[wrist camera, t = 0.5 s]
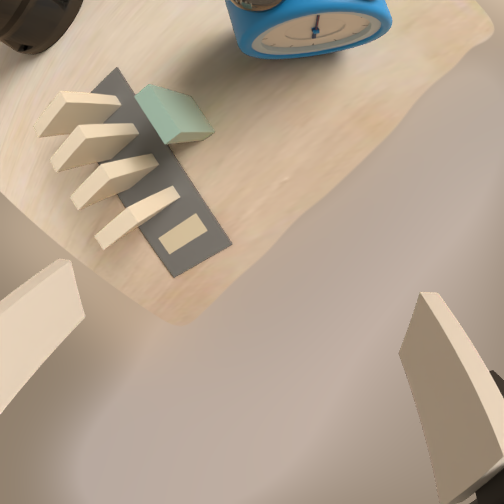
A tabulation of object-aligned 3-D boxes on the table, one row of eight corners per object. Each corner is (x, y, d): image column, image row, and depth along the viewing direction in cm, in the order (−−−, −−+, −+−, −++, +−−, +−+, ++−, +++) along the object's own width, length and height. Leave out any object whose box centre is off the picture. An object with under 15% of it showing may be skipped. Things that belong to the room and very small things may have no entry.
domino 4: (123, 178, 33) (69, 196, 24) (152, 153, 31) (100, 164, 22) (129, 188, 33) (78, 210, 24) (159, 164, 32) (110, 179, 22)
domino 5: (142, 208, 34) (94, 236, 25) (172, 185, 32) (127, 207, 23) (149, 219, 34) (103, 250, 25) (180, 197, 33) (138, 222, 24)
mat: (72, 114, 31) (70, 114, 30) (117, 67, 28) (116, 67, 28) (174, 276, 37) (173, 277, 37) (232, 243, 34) (231, 244, 34)
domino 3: (105, 149, 32) (49, 159, 22) (133, 123, 30) (78, 125, 21) (111, 159, 32) (56, 172, 23) (139, 133, 30) (85, 138, 21)
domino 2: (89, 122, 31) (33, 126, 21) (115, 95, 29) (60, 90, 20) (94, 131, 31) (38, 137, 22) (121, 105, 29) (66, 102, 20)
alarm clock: (252, 69, 27) (215, 19, 13) (238, 22, 25) (195, -47, 11) (372, 50, 24) (426, -3, 10) (356, 3, 22) (390, -69, 8)
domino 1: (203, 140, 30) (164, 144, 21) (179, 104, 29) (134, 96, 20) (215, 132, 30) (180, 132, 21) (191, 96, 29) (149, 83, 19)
